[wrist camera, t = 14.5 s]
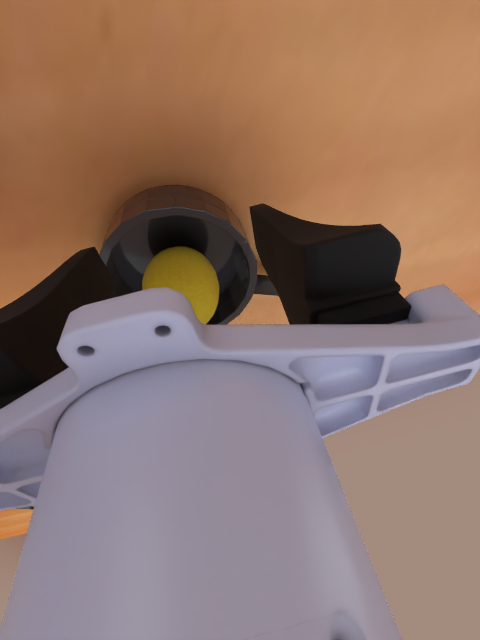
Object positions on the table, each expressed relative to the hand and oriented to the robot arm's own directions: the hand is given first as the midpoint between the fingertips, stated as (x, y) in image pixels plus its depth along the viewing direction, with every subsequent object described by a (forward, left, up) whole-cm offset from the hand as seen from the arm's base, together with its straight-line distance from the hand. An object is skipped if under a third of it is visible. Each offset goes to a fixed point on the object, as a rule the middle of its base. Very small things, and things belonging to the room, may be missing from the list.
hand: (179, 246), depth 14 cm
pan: (+1, -6, -10) cm, 12 cm away
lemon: (+1, -6, -10) cm, 12 cm away
